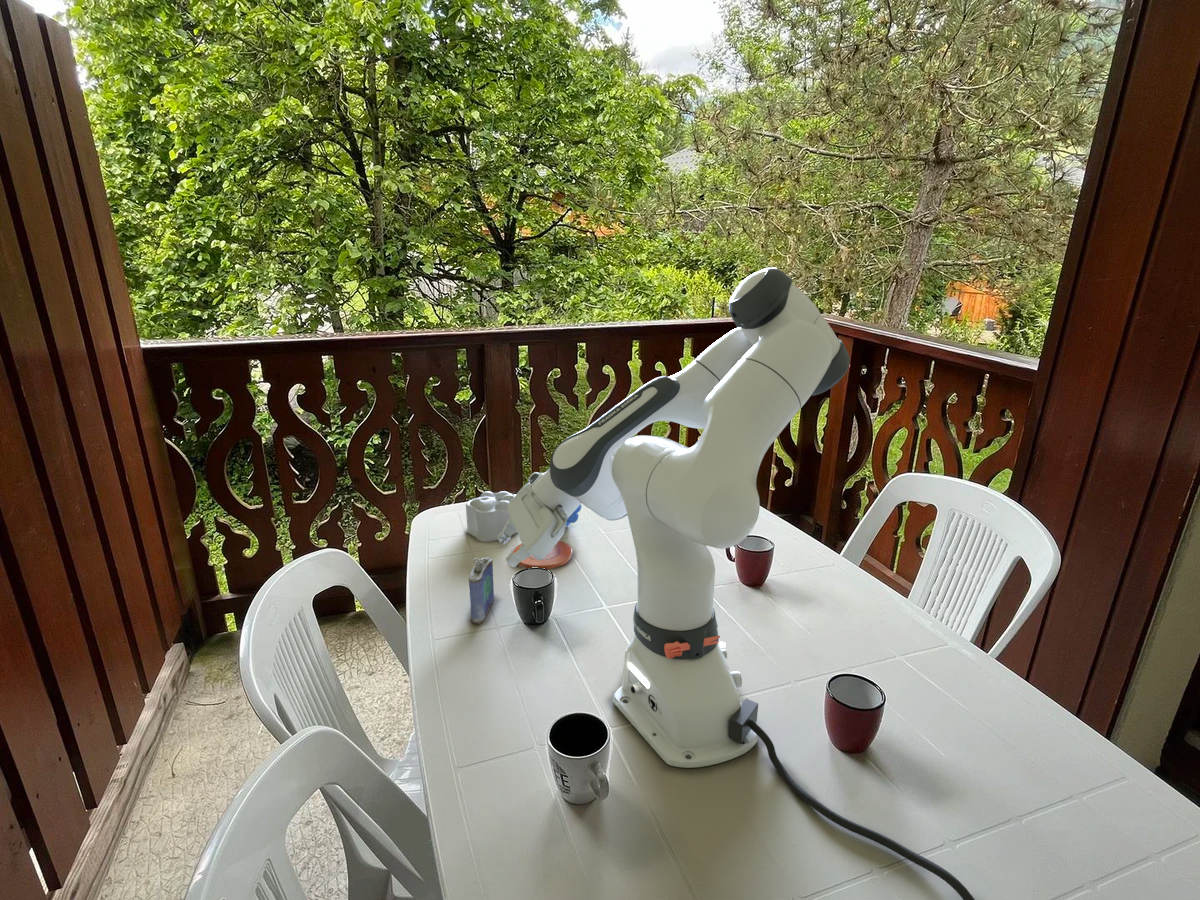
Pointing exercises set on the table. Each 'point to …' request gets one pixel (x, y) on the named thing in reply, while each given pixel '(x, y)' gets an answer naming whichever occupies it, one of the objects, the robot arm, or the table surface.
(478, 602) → the flask
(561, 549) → the coaster
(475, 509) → the lumpy-topped squat cylinder
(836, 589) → the table surface
